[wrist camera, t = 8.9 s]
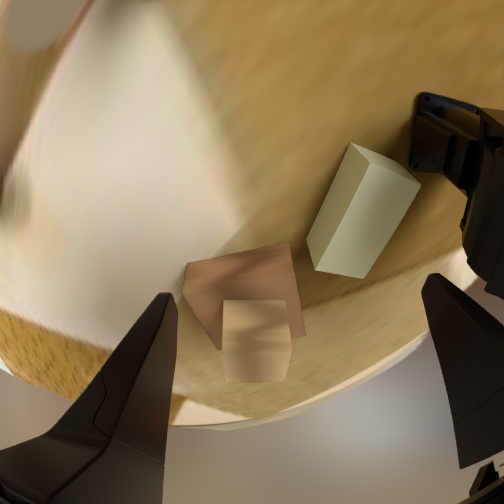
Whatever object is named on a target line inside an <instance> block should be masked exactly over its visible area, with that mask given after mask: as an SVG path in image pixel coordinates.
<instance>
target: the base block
mask: <svg viewBox="0 0 504 504" xmlns="http://www.w3.org/2000/svg"><path fill="white" fill-rule="evenodd" d="M182 294H183V296H184V298H185V299H186V301H187V303H188V304H189V306H190V307H191V309H192V311H193V312H194V314H195V316H196V317H197V319H198V320H199V322H200V324H201V325H202V327H203V328H204V330H205V331H206V333H207V335H208V336H209V338H210V339H211V341H212V342H213V344H214V345H215V347H216V348H217V350H222V334H223V306H224V300H285V302H286V309H287V316H288V322H289V329H290V336H291V339H292V338H297V337H303V336H306V332H305V327H304V321H303V315H302V310H301V304H300V299H299V293H298V288H297V282H296V277H295V272H294V267H293V262H292V257H291V253H290V248H289V243H288V242H286V243H282V244H277V245H272V246H267V247H262V248H258V249H253V250H248V251H243V252H239V253H234V254H229V255H224V256H220V257H215V258H210V259H205V260H201V261H196V262H191V263H187V268H186V274H185V279H184V285H183V291H182Z"/></svg>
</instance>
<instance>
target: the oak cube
mask: <svg viewBox="0 0 504 504" xmlns="http://www.w3.org/2000/svg"><path fill="white" fill-rule="evenodd" d="M292 352H293V351H292V343H291V336H290V329H289V322H288V316H287V309H286V302H285V300H224V306H223V334H222V358H223V367H224V376H225V382H272V381H284V380H285V377H286V373H287V370H288V366H289V363H290V359H291V356H292Z"/></svg>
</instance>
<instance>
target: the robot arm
mask: <svg viewBox="0 0 504 504" xmlns="http://www.w3.org/2000/svg"><path fill="white" fill-rule="evenodd" d="M426 96H427V100H426V101H425V97H426ZM475 110H476V112H475ZM415 163H416V165H415V166H413V165H414V164H415ZM409 167H410V168H411V169H412V170H413V171H419V172H431V173H441V174H442V175H444V176H445V177H446V178H447V179H448V180H449V181H450V182H451V183H452V184H453V185H455V186H456V187H457V188H458V189H459V190H460V191H461V192H462V193H463V194H464V195H465V196H466V197H467V198H468V199H467V204H466V208H465V212H464V216H463V218H462V219H461V222H460V228H461V231H462V245H463V248H464V250H465V253H466V255H467V257H468V258H467V264H468V265H469V266H470V268H471V269H472V270H473V271H474V273H475V274H476V275H477V276H479V277H480V278H481V279H482V280H483V281H485V282H486V283H487V284H486V286H485V288H484V290H485V291H486V292H487V293H490V294H492V295H495V296H498V297H500V298H502V299H503V300H504V111H502V110H496V109H489V108H481V107H477V106H475V105H472V104H469V103H466V102H463V101H459V100H456V99H453V98H449V97H445V96H441V95H437V94H433V93H429V92H421V94H420V96H419V103H418V111H417V117H416V119H415V126H414V132H413V138H412V144H411V154H410V159H409ZM421 295H422V299H423V303H424V307H425V311H426V315H427V320H428V324H429V328H430V332H431V336H432V339H433V342H434V345H435V349H436V352H437V356H438V359H439V362H440V366H441V370H442V374H443V378H444V382H445V386H446V391H447V394H448V399H449V404H450V409H451V414H452V419H453V424H454V425H453V426H454V431H455V438H456V445H457V452H458V460H459V467H460V469H463V468H465V467H468V466H470V465H473V464H475V463H478V462H480V461H482V460H485V459H487V458H489V457H491V456H492V458H493V460H492V461H490V462H489V463H487V464H486V465H484V466H482V467H481V468H480V469H479V471H478V474H477V476H476V478H475V480H474V483H473V485H472V487H471V489H470V491H469V495H470V497H469V498H467V499H465V500H464V501H462V502H460V503H458V504H504V326H503V325H502V324H501V323H500V322H499V321H498V320H497V319H495V318H494V317H493V316H492V315H491V314H490V313H488V312H487V311H486V310H485V309H484V308H482V307H481V306H480V305H479V304H478V303H477V302H475V301H474V300H473V299H472V298H470V297H469V296H468V295H467V294H466V293H464V292H463V291H462V290H460V289H459V288H458V287H457V286H455V285H454V284H453V283H452V282H450V281H449V280H448V279H446V278H445V277H444V276H442V275H441V274H440V273H433V274H429V275H428V277H427V279H426V281H425V284H424V286H423V288H422V291H421ZM177 322H178V311H177V307H176V304H175V301H174V298H173V295H172V294H171V293H170V292H161V293H159V294H157V296H156V297H155V298H154V299H153V301H152V302H151V303H150V304H149V306H148V307H147V308H146V310H145V311H144V312H143V313H142V315H141V316H140V317H139V319H138V320H137V321H136V322H135V324H134V325H133V326H132V328H131V329H130V330H129V331H128V333H127V334H126V335H125V337H124V338H123V339H122V341H121V342H120V343H119V345H118V346H117V347H116V349H115V350H114V351H113V353H112V354H111V355H110V357H109V358H108V359H107V361H106V362H105V363H104V365H103V366H102V368H101V369H100V371H99V372H98V373H97V374H96V376H95V377H94V378H93V380H92V381H91V382H90V384H89V385H88V386H87V388H86V389H85V390H84V392H83V393H82V394H81V395H80V396H79V397H78V399H77V400H76V401H75V402H74V403H73V404H72V406H71V407H70V408H69V409H68V410H67V411H66V413H65V414H64V415H63V416H62V417H61V418H60V419H59V421H58V422H57V423H56V424H55V425H54V426H53V427H52V428H51V429H50V430H49V431H47V432H46V433H44V434H42V435H40V436H38V437H36V438H33V439H30V440H28V441H25V442H23V443H20V444H17V445H14V446H12V447H9V448H6V449H3V450H0V504H162V496H163V479H164V464H165V452H166V441H167V430H168V421H169V411H170V403H171V394H172V386H173V378H174V371H175V364H176V354H177Z"/></svg>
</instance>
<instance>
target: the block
mask: <svg viewBox="0 0 504 504" xmlns="http://www.w3.org/2000/svg"><path fill="white" fill-rule="evenodd" d="M420 187H421V184H420V183H419V182H418V181H417V180H416V179H415V178H414V177H413V176H412V175H411V174H410V173H409V172H408V171H407V170H406V169H405V168H404V167H403V166H402V165H400V164H399V163H398V162H397V161H394V160H392V159H390V158H388V157H385V156H383V155H381V154H378V153H376V152H373V151H371V150H369V149H366V148H364V147H361V146H359V145H356V144H353V143H351V142H350V144H349V146H348V149H347V151H346V153H345V156H344V158H343V160H342V162H341V165H340V167H339V169H338V171H337V174H336V176H335V178H334V180H333V182H332V185H331V187H330V189H329V191H328V193H327V195H326V198H325V200H324V202H323V204H322V206H321V208H320V211H319V213H318V215H317V217H316V219H315V221H314V223H313V225H312V227H311V230H310V232H309V234H308V236H307V238H306V241H307V244H308V248H309V251H310V255H311V258H312V262H313V265H314V269H315V270H317V271H323V272H328V273H333V274H339V275H344V276H350V277H355V278H361V279H364V277H365V276H366V275H367V273H368V272H369V270H370V269H371V267H372V266H373V264H374V263H375V261H376V260H377V258H378V257H379V255H380V254H381V252H382V251H383V249H384V247H385V246H386V244H387V243H388V241H389V240H390V238H391V236H392V235H393V233H394V232H395V230H396V228H397V227H398V225H399V223H400V222H401V220H402V218H403V217H404V215H405V213H406V212H407V210H408V208H409V207H410V205H411V203H412V201H413V200H414V198H415V196H416V194H417V192H418V191H419V189H420Z"/></svg>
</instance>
